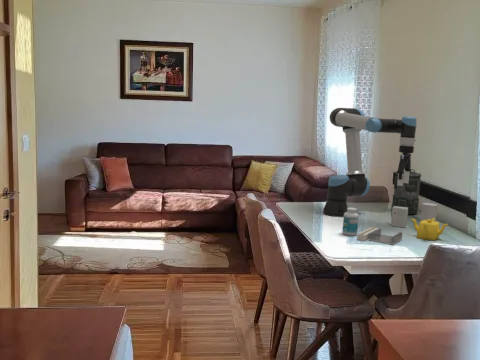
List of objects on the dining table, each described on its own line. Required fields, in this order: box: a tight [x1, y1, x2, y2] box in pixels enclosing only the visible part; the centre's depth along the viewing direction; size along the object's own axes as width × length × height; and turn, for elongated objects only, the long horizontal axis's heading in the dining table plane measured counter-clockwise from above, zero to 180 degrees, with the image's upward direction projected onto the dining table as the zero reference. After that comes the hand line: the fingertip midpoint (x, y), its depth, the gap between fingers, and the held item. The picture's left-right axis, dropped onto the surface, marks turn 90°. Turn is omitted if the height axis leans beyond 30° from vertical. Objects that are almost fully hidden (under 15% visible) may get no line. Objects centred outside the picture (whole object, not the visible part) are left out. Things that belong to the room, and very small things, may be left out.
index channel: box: [368, 228, 403, 246], centre depth 266 cm, size 12×14×4 cm
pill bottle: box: [341, 207, 359, 237], centre depth 273 cm, size 8×7×14 cm
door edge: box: [356, 226, 380, 242], centre depth 271 cm, size 4×20×3 cm, turn 147°
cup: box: [420, 202, 438, 222], centre depth 308 cm, size 8×8×12 cm
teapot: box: [411, 218, 449, 242], centre depth 276 cm, size 15×14×10 cm
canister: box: [391, 168, 422, 215], centre depth 341 cm, size 16×16×28 cm
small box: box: [390, 206, 409, 228], centre depth 301 cm, size 8×6×10 cm
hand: (402, 184), depth 293 cm, fingers open, 13 cm apart
